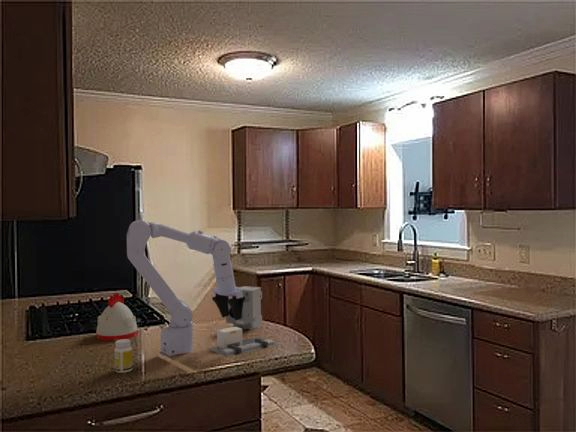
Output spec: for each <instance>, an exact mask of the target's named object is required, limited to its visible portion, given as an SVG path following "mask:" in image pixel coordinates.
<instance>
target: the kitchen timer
mask: <svg viewBox="0 0 576 432" xmlns="http://www.w3.org/2000/svg"><path fill="white" fill-rule="evenodd" d="M122 296H123V295H120V293H119V292H116V293H113V295H110V296H109V297H110V298H109V299H107V303H108V306H106V307H105V308H104V310H103V311H102V313H101V315H99V316H98V317H97V326H96V334H95V335H96V336H97V337H96V339H97V338H98V339H97V340H99V339H102V340H101V341H106V340H114V341H117V340H121V339H131V338H135V337H136V336H138V332H139V331H138V325H137V322H136V320H137V319H136V316H135V315H134V314H133V312H132V311H131V309H130V308H129V307H128V306H127V305H126V304H124V303H125V302H124V301H125V298H124V297H122Z"/></svg>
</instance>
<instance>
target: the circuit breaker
mask: <svg viewBox="0 0 576 432" xmlns="http://www.w3.org/2000/svg"><path fill="white" fill-rule="evenodd" d="M238 287H239V286H238ZM261 289H262V287H260V286H250V285H249V286H247V285H246V286H245V285H244V286H240V287H239V289H238V290H240V291H242V293H243V296H245V300H244V303H243V308H242V318H241V319H239V320H235V319H234V315H233V312H232V309H231V306H230V304H229V303H228V309H229V316H226V317H225V323H226V324H233V325H232V327H238V328H241V329H242V330H249V331H252V330H255V329H262V328H263V326H262V324H263V315H262V301H261V300H262V299H263V292H262V290H261Z"/></svg>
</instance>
